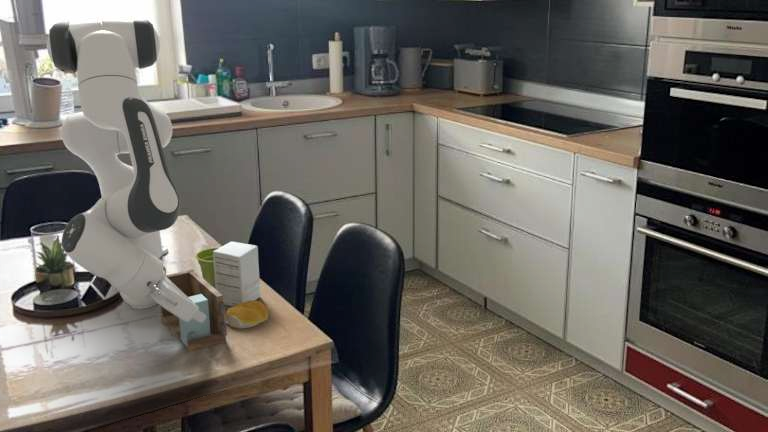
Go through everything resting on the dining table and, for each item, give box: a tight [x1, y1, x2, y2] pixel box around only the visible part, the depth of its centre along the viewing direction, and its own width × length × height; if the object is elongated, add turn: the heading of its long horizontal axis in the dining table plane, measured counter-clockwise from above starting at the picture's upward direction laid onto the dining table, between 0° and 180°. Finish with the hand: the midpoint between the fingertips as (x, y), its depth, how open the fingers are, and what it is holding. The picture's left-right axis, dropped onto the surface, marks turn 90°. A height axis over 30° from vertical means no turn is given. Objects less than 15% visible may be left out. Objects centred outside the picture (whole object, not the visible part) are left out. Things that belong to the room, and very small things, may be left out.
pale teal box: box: [179, 294, 212, 347], centre depth 155 cm, size 5×5×9 cm
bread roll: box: [224, 300, 269, 330], centre depth 165 cm, size 8×9×4 cm
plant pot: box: [195, 246, 220, 288], centre depth 180 cm, size 9×9×9 cm
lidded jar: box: [118, 266, 167, 310], centre depth 172 cm, size 11×11×9 cm
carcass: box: [159, 269, 228, 352], centre depth 159 cm, size 18×8×10 cm, turn 34°
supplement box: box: [213, 241, 261, 307], centre depth 173 cm, size 7×7×13 cm
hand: (194, 310), depth 154 cm, fingers open, 8 cm apart
